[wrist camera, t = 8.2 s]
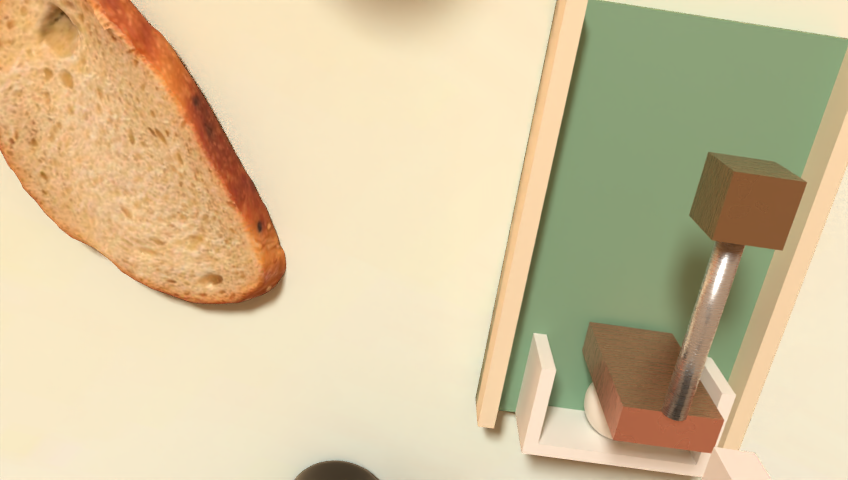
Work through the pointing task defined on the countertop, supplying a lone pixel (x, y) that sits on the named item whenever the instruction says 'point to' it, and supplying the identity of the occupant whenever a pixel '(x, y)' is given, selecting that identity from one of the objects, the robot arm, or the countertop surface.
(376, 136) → the countertop surface
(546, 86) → the pitch
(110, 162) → the slice of bread
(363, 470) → the supplement bottle
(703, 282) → the rod
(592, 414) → the ball
